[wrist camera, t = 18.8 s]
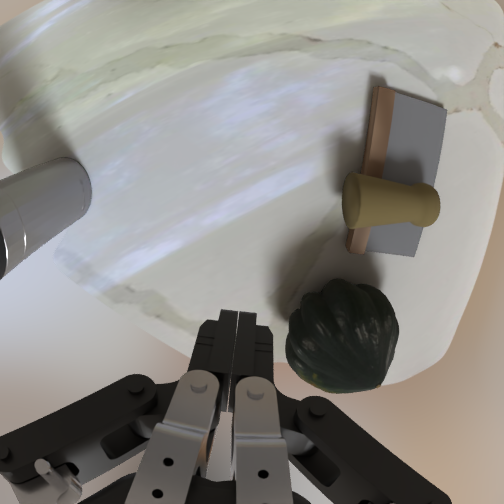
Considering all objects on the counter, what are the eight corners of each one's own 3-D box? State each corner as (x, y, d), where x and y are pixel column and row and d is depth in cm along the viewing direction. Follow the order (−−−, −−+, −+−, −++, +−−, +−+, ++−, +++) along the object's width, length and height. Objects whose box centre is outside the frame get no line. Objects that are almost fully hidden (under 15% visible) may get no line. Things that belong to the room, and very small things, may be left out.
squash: (245, 326, 37) (308, 431, 30) (339, 245, 33) (423, 356, 25) (295, 327, 49) (345, 403, 41) (367, 267, 44) (426, 345, 37)
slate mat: (359, 247, 38) (361, 250, 37) (389, 91, 30) (391, 91, 29) (412, 254, 38) (414, 257, 37) (443, 109, 30) (447, 109, 29)
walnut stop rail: (345, 245, 38) (349, 252, 36) (373, 87, 30) (379, 86, 28) (359, 247, 38) (364, 254, 36) (389, 91, 30) (395, 90, 28)
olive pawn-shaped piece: (346, 164, 32) (426, 172, 33) (339, 212, 36) (415, 215, 36) (365, 185, 27) (453, 193, 28) (354, 239, 31) (438, 240, 31)
